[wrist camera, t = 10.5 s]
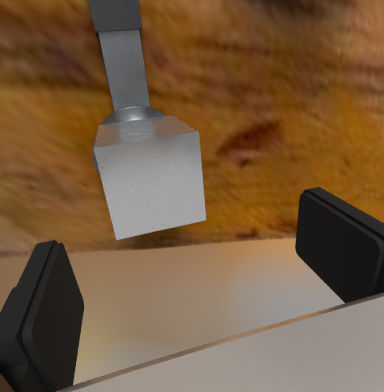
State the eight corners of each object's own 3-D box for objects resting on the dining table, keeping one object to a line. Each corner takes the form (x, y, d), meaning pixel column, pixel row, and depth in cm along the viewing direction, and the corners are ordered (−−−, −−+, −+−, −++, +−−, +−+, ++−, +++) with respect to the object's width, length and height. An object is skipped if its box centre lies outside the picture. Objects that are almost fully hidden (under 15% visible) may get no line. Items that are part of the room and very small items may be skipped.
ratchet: (153, -92, 20) (169, -154, 14) (184, 180, 28) (201, 204, 23) (32, -94, 18) (0, -166, 13) (105, 195, 27) (104, 224, 21)
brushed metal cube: (171, 115, 23) (198, 131, 16) (179, 180, 26) (206, 220, 19) (98, 125, 22) (93, 147, 15) (114, 192, 24) (116, 239, 17)
